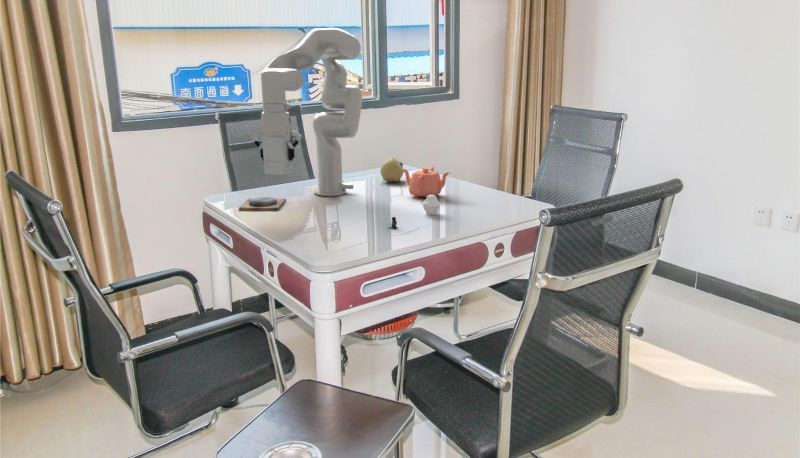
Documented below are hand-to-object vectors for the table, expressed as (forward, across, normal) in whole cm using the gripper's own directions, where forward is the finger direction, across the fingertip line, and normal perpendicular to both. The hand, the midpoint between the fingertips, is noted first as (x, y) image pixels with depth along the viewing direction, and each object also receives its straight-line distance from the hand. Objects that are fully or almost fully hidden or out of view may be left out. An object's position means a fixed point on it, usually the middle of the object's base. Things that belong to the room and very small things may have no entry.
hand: (277, 160), depth 211 cm
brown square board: (+19, +9, -11) cm, 24 cm away
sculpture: (+19, -39, +18) cm, 47 cm away
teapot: (+20, -51, -28) cm, 62 cm away
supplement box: (+5, 0, 0) cm, 5 cm away
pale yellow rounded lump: (+20, -38, -54) cm, 69 cm away
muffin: (+19, -52, 0) cm, 56 cm away
